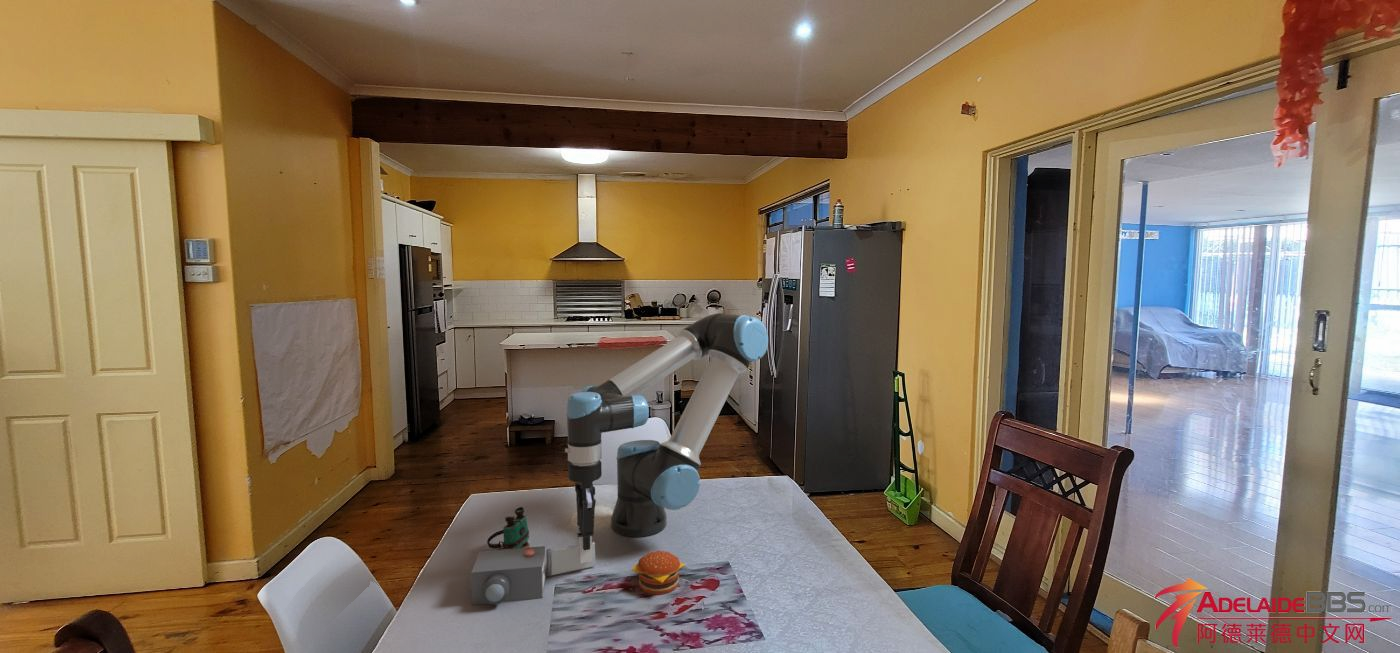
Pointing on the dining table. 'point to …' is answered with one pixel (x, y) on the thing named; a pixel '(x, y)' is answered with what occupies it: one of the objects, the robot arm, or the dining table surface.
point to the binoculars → (513, 532)
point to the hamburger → (658, 572)
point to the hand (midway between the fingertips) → (585, 560)
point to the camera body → (508, 575)
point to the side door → (566, 560)
